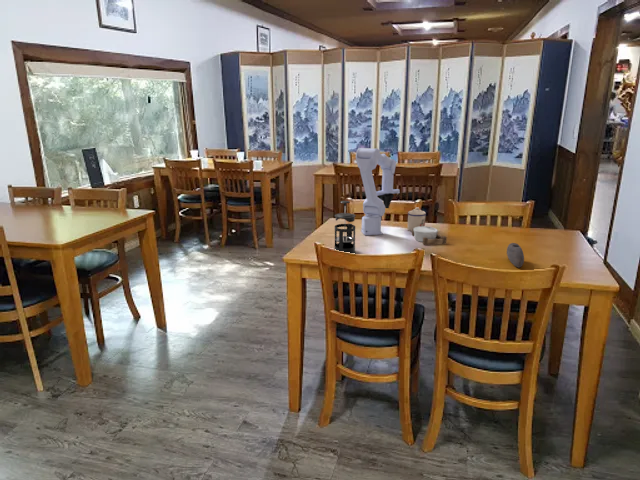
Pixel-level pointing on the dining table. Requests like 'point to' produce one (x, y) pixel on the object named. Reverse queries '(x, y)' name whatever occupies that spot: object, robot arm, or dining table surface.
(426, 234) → the ramekin
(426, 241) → the walnut cradle
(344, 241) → the french press
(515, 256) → the perforated stone tool
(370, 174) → the robot arm
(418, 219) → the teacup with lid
